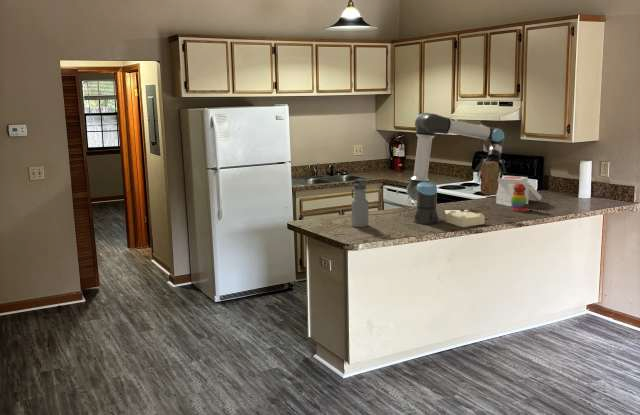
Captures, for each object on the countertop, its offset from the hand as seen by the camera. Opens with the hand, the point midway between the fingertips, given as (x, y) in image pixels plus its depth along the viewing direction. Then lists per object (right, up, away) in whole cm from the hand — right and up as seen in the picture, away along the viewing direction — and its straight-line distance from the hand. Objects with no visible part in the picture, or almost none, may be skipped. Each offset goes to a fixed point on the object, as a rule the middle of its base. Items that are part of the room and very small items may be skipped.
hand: (488, 181), depth 371 cm
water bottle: (-78, -27, -6) cm, 83 cm away
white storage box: (+35, -13, +54) cm, 66 cm away
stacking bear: (+28, -18, +29) cm, 44 cm away
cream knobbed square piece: (-15, -25, -4) cm, 30 cm away
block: (+1, -8, +4) cm, 9 cm away
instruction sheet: (-16, -19, +26) cm, 35 cm away
